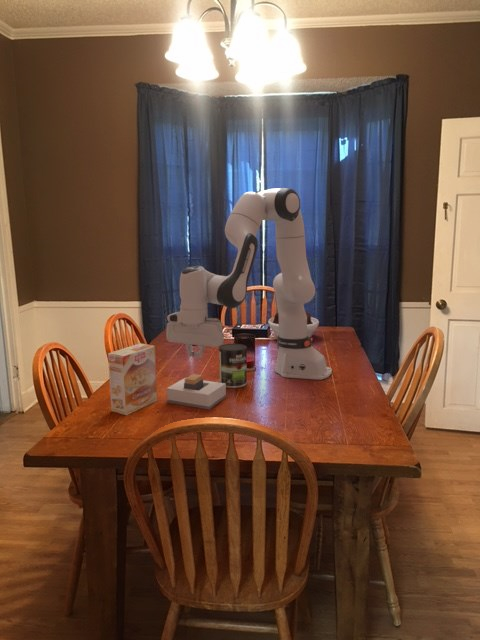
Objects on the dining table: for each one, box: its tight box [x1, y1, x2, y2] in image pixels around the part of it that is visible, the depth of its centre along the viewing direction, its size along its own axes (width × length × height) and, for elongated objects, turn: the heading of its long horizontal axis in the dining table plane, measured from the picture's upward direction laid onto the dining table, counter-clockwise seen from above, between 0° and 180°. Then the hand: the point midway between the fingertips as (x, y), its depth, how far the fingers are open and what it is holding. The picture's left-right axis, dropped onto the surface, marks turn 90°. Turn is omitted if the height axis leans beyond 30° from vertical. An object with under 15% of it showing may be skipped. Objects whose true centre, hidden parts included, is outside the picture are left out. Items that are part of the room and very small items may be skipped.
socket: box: [166, 377, 227, 410], centre depth 172 cm, size 16×12×5 cm
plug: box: [184, 373, 204, 391], centre depth 171 cm, size 4×6×7 cm, turn 155°
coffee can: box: [218, 343, 248, 389], centre depth 187 cm, size 10×10×14 cm
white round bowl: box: [267, 312, 320, 339], centre depth 251 cm, size 25×25×15 cm
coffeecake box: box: [107, 342, 158, 416], centre depth 165 cm, size 15×7×20 cm, turn 148°
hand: (195, 356), depth 169 cm, fingers closed
